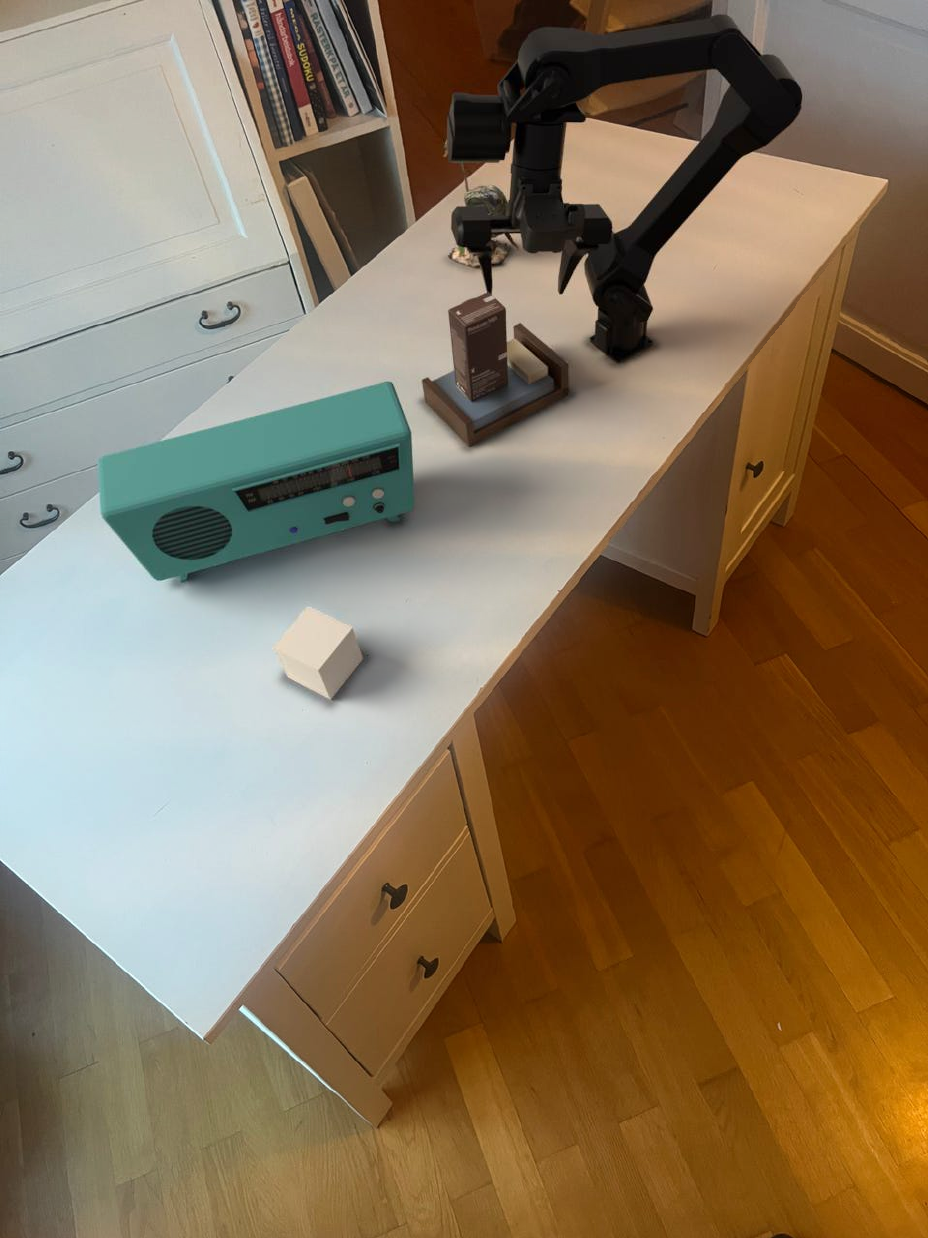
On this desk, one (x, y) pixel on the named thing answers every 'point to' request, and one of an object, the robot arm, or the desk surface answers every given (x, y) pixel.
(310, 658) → the cream cube
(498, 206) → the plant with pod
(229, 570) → the desk surface
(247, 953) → the desk surface
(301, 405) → the radio
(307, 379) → the desk surface
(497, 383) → the box
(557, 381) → the bed
